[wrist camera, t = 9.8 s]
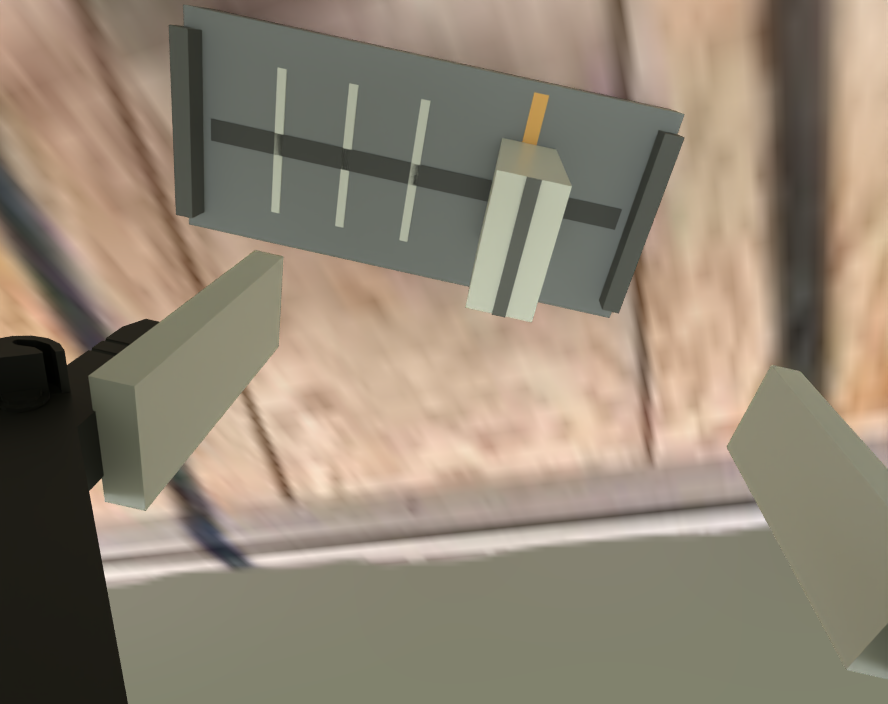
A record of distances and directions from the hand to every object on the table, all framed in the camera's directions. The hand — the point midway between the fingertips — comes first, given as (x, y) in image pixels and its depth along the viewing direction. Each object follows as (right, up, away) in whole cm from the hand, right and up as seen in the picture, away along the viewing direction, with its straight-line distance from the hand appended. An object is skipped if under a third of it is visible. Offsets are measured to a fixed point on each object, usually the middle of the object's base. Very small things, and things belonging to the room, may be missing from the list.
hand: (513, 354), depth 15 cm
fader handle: (+2, +9, +17) cm, 19 cm away
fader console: (-3, +12, +20) cm, 23 cm away
